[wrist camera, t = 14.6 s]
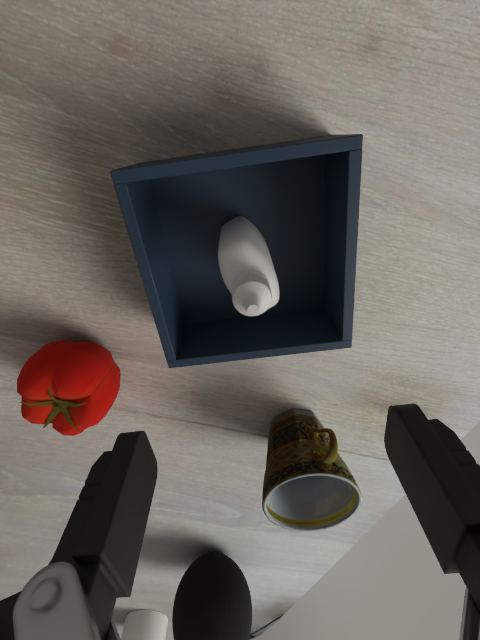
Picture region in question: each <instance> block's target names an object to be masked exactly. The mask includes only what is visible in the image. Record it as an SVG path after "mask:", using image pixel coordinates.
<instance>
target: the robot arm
mask: <svg viewBox="0 0 480 640" xmlns="http://www.w3.org/2000/svg"><path fill="white" fill-rule="evenodd" d="M384 442H385V448H386V452H387V455H388V457H389V460H390V462H391V464H392V466H393V468H394V470H395V472H396V474H397V476H398V478H399V480H400V482H401V484H402V487H403V489H404V491H405V493H406V494H407V497H408V499H409V501H410V503H411V505H412V507H413V509H414V511H415V514H416V515H417V518H418V520H419V522H420V524H421V526H422V528H423V530H424V532H425V534H426V536H427V538H428V540H429V543H430V545H431V547H432V549H433V551H434V553H435V555H436V557H437V559H438V561H439V563H440V566H441V568H442V570H443V572H444V574H449V573H460V575H461V577H462V579H463V580H464V583H465V585H466V590H465V596H464V604H463V613H462V621H461V629H460V638H459V640H480V466H479V465H478V464H476V461H475V459H474V458H473V457H472V455H471V454H470V453H469V451H467V450H466V447H465V446H464V444H463V443H462V442H461V440H460V439H459V438H458V436H457V435H456V434H455V432H454V431H452V430H451V429H450V428H448V427H447V426H446V425H444V424H443V423H442V422H440V421H439V420H438V419H432V420H428V419H427V418H426V416H425V415H424V413H423V412H422V410H421V409H420V407H419V406H418V405H416V404H405V405H395V406H390V407H389V409H388V415H387V422H386V429H385V437H384ZM156 480H157V461H156V458H155V455H154V453H153V450H152V448H151V445H150V443H149V440H148V438H147V435H146V433H145V432H144V431H136V432H127V433H120V434H119V435H118V437H117V439H116V442H115V445H114V447H113V450H112V451H107V452H104V453H103V454H102V455H101V456H100V457H99V459H98V460H97V461H96V462H95V463H94V465H93V466H92V468H91V470H90V472H89V475H88V477H87V479H86V482H85V486H83V489H82V491H81V493H80V495H79V500H78V501H77V502H76V505H75V507H74V509H73V512H72V514H71V516H70V519H69V521H68V523H67V526H66V528H65V530H64V533H63V535H62V537H61V540H60V542H59V544H58V547H57V549H56V551H55V554H54V556H53V558H52V560H51V561H50V563H49V565H48V566H46V567H44V568H43V569H41V570H40V571H39V572H38V573H36V574H35V575H34V576H33V577H32V578H31V579H30V580H29V582H28V583H27V584H26V585H25V587H24V588H23V590H22V591H20V592H18V593H16V594H15V595H12V596H10V597H8V598H6V599H3V600H1V601H0V640H120V637H119V634H118V631H117V628H116V625H115V622H114V619H113V616H112V614H113V610H114V606H115V602H116V598H119V597H130V595H131V591H132V586H133V582H134V577H135V573H136V569H137V564H138V560H139V555H140V551H141V546H142V542H143V537H144V533H145V529H146V524H147V520H148V515H149V511H150V506H151V502H152V497H153V493H154V489H155V484H156Z"/></svg>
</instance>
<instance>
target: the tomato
mask: <svg viewBox="0 0 480 640" xmlns="http://www.w3.org/2000/svg"><path fill="white" fill-rule="evenodd" d="M119 387H120V369H119V367H118V366H117V365H116V364H115V362H114V361H113V358H112V355H111V353H110V351H108V350H107V349H105V348H104V347H102V346H101V345H98V344H95V343H92V342H90V341H82V342H71V341H67V340H59V341H55V342H52V343H49V344H47V345H45V346H43V347H42V348H41V349H40V350H38V351H37V352H36V353H35V354H34V355H32V356H31V357H30V358H29V359H28V360H27V362H26V363H25V365H24V366H23V368H22V369H21V371H20V374H19V376H18V379H17V392H18V393H19V394H20V395H21V396H22V402H20V403H22V406H21V412H22V416H23V418H24V419H26V420H28V421H29V422H31V423H35V424H45V425H44V427H43V428H45V427H46V426H47V425H48V424H49V423H53V428H54V429H55V430H57V431H58V432H60V433H61V434H62V435H76V434H80V433H82V432H83V431H84V430H85V429H86V428H88V427H90V426H93V425H96V424H98V423H99V422H100V421H101V420H102V419H103V418H104V417H105V415H106V414H107V412H108V411H109V409H110V408H111V406H112V404H113V402H114V401H115V399H116V397H117V394H118V390H119Z"/></svg>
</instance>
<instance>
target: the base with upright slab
mask: <svg viewBox="0 0 480 640" xmlns="http://www.w3.org/2000/svg"><path fill="white" fill-rule="evenodd" d="M167 622H168V617H167V616H166V615H165V614H163V613H161V612H158V611H154V610H137V611H133V612H130V613H129V614H127V616H126V619H125V624H124V628H123V632H122V637H121V640H165V637H166V630H167Z"/></svg>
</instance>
